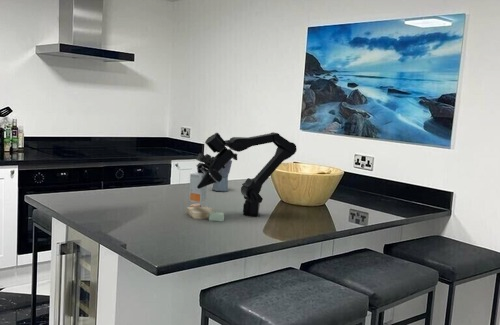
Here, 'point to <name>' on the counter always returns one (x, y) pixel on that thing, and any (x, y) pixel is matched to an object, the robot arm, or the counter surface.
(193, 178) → the skincare box
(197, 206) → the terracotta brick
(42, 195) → the counter surface
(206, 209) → the beech slab
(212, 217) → the sage brick
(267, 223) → the counter surface
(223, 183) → the moka pot
